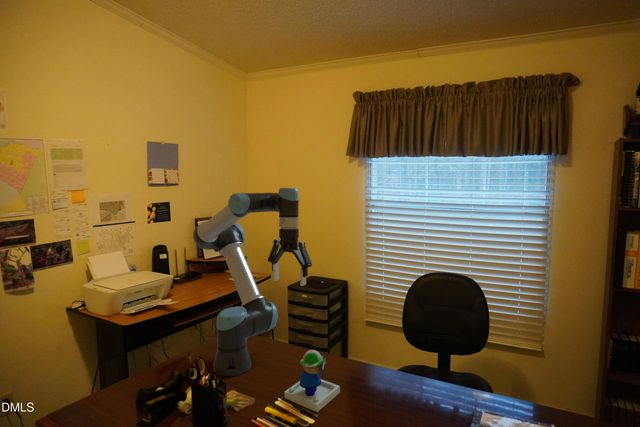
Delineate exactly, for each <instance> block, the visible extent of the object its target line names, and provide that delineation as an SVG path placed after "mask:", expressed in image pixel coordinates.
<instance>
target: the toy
mask: <svg viewBox="0 0 640 427" xmlns="http://www.w3.org/2000/svg"><path fill="white" fill-rule="evenodd" d="M326 361H327V360H326V354H324V355H322V354H320V352H319V351H317V350H315V349H310V350H307V351H306V352H305V353H304V354H303V358H301V359H300V360H299V364H300V366H302V367H303V370H304V371H303V372H302V373H301V376H300V380H299V381H300V386H301V387H303V388H305V394H306V396H313V395H315V391H316V390H317V387H318V386H320V385H321V380H320V379H323V376H324V375H325V372H326V366H327V362H326ZM319 372H321V377H320V375H319Z"/></svg>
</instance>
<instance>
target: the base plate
mask: <svg viewBox="0 0 640 427" xmlns="http://www.w3.org/2000/svg"><path fill="white" fill-rule="evenodd" d="M320 380H321V385H320V386H318V387H317V390H316V391H315V395H313V396H306V394H305V388H303V387H301V386H300V380H299V381H297V382H296V383H295V384H293V385H292V386H291V387H289V388H288V389H286V390H285V391H284V399H286V400H288V401H290V402H293V403H296V404H297V405H299V406H301V407H304V408H306V409H309V410H312V411H314V412H317V413H318V412H319V411H321V410H322V409H323V408H324V407H325V406H326V405H327V404H329V403H330V402H331V401H332V400H333V399H334V398H336V396H338V395H339V394H340V393H341V386H340V385H338V384H335V383H333V382H329V381H327V380H324V379H323V378H320Z"/></svg>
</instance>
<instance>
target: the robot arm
mask: <svg viewBox="0 0 640 427" xmlns="http://www.w3.org/2000/svg"><path fill="white" fill-rule="evenodd" d="M227 201H228V202H227V203H228V204H227V205H226V206H224V207H223V208H222V209H221V210H219V211H218V212H217V213H215V214H214V215H213V216H212V217H211V218H209V219H208V220H207V221H203V222H200V223H199V224H198V225H197V226H195V229H194V230H193V233H192V237H193V238H192V239H193V241H194V243H195V245H197V247H198V248H200V249H203V250H206V251H207V250H208V251H209V250H217V251H218V255H220V256H223V257H224V259H225V262H226V265H227V266H228V267H227V268H228V270H229V273H230V276H231V277H232V280H233V283H234V285H235V288H236V291H237V292H238V296H239V298H240V301H241V306H238V305H237V306H231V307H228V308H225V309H223V310H221V311H220V312H219V313H218V314H217V316H216V324H215V326H216V353H215V358H214V360H213V362H212V370H213V372H214V374H216V375H218V376H221V377H234V376H235V377H236V376H239V375H242V374H244V373H247V372H248V371H249V370H250V369H252V368H251V367H252V357H251V356H250V352H249V350H248V347H247V346H248V345H247V343H248V342H247V340H248V338H251V337H255V336H257V335H259V334H263V333H267V332H268V331H270V330H272V329H274V328H275V326H276V325H277V322H278V319H279V318H278V317H279V316H278V315H279V313H278V309H277V307H276V305H275V304H274V303H273V302H272V301H268V300H267V298H266V296H264V295H262V294H261V292H260V290H259V288H258V285H257V283H256V281H255V277H254V276H253V275H254V274H252V271H251V268H250V266H249V263H248V261H247V258H246V256H245V253H244V252H243V248H244V242H245V240H246V237H245V235H246V234H245V232H244V229H243V228H242V226H241V225H240V224H238V223H237V222H239V221H240V220H241V219H243V218H244V217H246V216H247V215H248V214H253V213H254V214H255V213H270V212H271V213H272V212H273V213H274V212H275V213H278V227H279V230H278V236H279V237H278V238H277V239H273V242H272V243H273V245H272V247H271V250H270V253H269V255H268V259H267V263H268V262H269V263H270V264H271V271H272V281H273V282H275V281H279V280H280V263H279V261H280V259H281V258H282V257H283V255H284V253H289V254H290V253H291V254H292V255H293V256H294V257H295V258H296V261H297V262H298V263H299V266H300V270H299V271H300V272H299V275H300V277H299V280H300V281H299V282H300V283H299V286H301V287H303V286H305V285H307V277H308V276H309V273H308V272H309V271H308V270H309V268H310V267H312V266H313V263H312V261H311V257H310V255H309V252H308V250H307V248H306V242H305V241H299V237H300V234H299V233H300V231H299V230H300V229H299V226H300V225H299V224H300V222H299V221H300V219H299V210H300V209H299V205H300V204H299V203H300V202H299V201H300V198H299V189H298V188H296V187H280V188H279V189H278V192H238V193H232V194H230V196H229V199H228V200H227Z"/></svg>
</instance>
